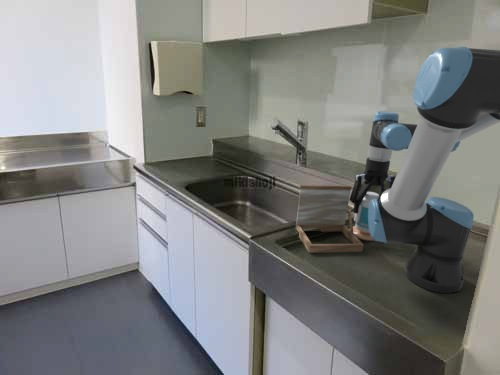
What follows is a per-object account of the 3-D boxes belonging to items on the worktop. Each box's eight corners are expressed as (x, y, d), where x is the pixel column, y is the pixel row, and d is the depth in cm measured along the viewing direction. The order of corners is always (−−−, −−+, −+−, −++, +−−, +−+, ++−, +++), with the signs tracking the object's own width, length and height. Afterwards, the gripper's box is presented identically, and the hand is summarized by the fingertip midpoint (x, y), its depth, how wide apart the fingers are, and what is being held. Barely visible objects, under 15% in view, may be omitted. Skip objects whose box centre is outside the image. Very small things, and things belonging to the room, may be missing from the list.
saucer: (386, 240, 127) (386, 239, 127) (356, 240, 125) (357, 239, 125) (371, 227, 137) (372, 225, 137) (344, 227, 135) (344, 225, 135)
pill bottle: (377, 235, 127) (384, 198, 122) (355, 232, 128) (361, 195, 124) (375, 226, 134) (381, 191, 129) (354, 223, 135) (360, 189, 130)
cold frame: (365, 252, 118) (375, 202, 113) (308, 253, 115) (315, 202, 109) (346, 230, 133) (353, 185, 128) (294, 230, 130) (299, 185, 124)
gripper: (400, 156, 127) (388, 217, 135) (345, 155, 124) (336, 217, 131) (412, 162, 120) (399, 225, 128) (354, 160, 117) (344, 226, 124)
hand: (367, 221), depth 130 cm, fingers closed on pill bottle, 7 cm apart
